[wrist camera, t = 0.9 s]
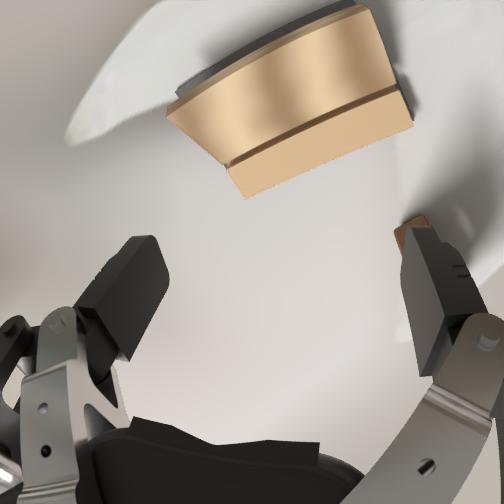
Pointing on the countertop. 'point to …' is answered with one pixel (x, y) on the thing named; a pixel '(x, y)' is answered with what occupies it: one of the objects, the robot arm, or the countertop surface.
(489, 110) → the countertop surface
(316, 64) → the board
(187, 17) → the countertop surface
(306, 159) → the floor section
